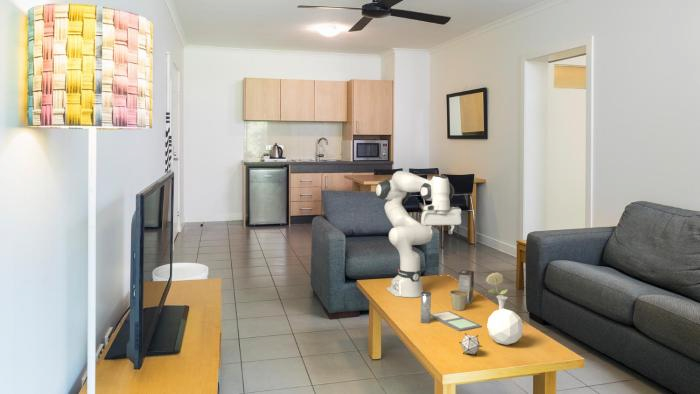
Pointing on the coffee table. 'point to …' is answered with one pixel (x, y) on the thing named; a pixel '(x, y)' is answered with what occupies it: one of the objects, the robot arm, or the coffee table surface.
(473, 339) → the game die
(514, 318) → the geometric sphere
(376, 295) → the coffee table surface
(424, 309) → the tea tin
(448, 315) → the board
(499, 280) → the flower in vase
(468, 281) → the coffee box
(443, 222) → the robot arm
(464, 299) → the flower pot
